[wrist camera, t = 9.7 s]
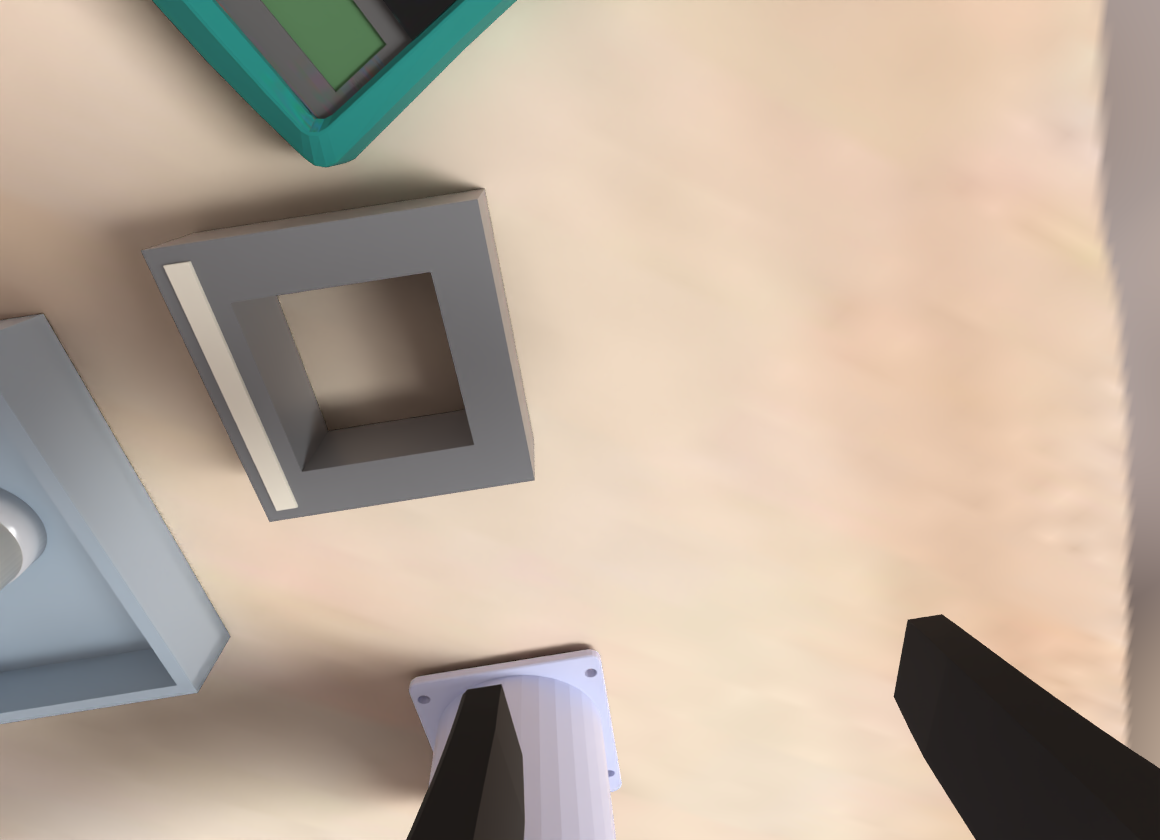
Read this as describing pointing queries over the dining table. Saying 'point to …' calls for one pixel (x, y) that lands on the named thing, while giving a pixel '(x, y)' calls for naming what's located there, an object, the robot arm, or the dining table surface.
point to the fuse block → (279, 381)
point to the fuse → (18, 537)
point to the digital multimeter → (330, 60)
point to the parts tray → (88, 554)
